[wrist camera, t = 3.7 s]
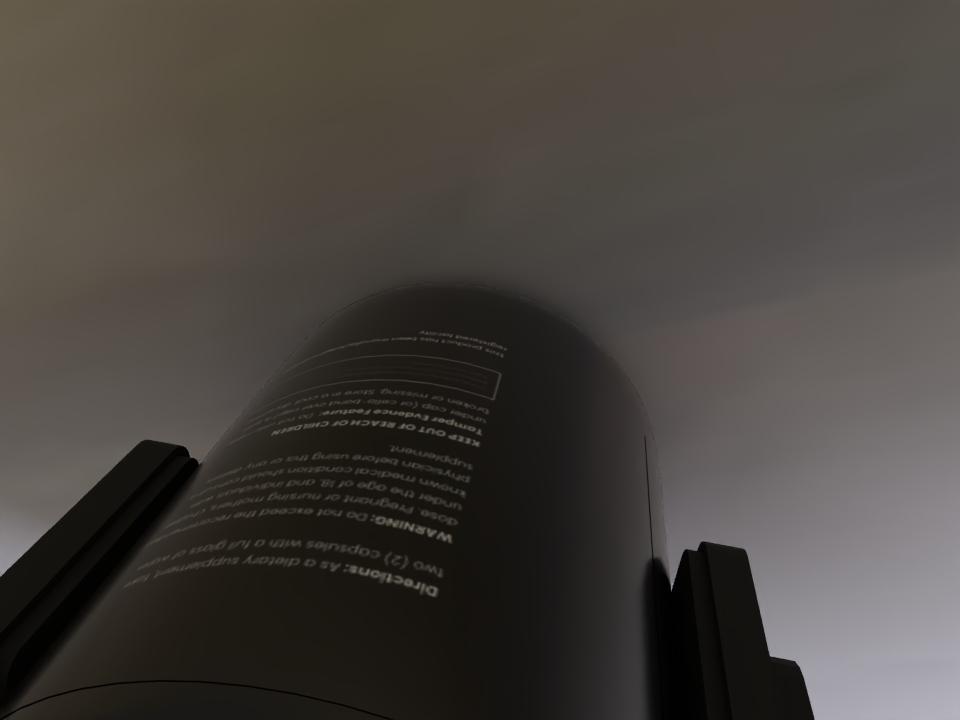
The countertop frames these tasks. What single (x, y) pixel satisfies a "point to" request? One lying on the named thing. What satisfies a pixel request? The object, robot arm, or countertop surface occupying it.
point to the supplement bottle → (398, 540)
